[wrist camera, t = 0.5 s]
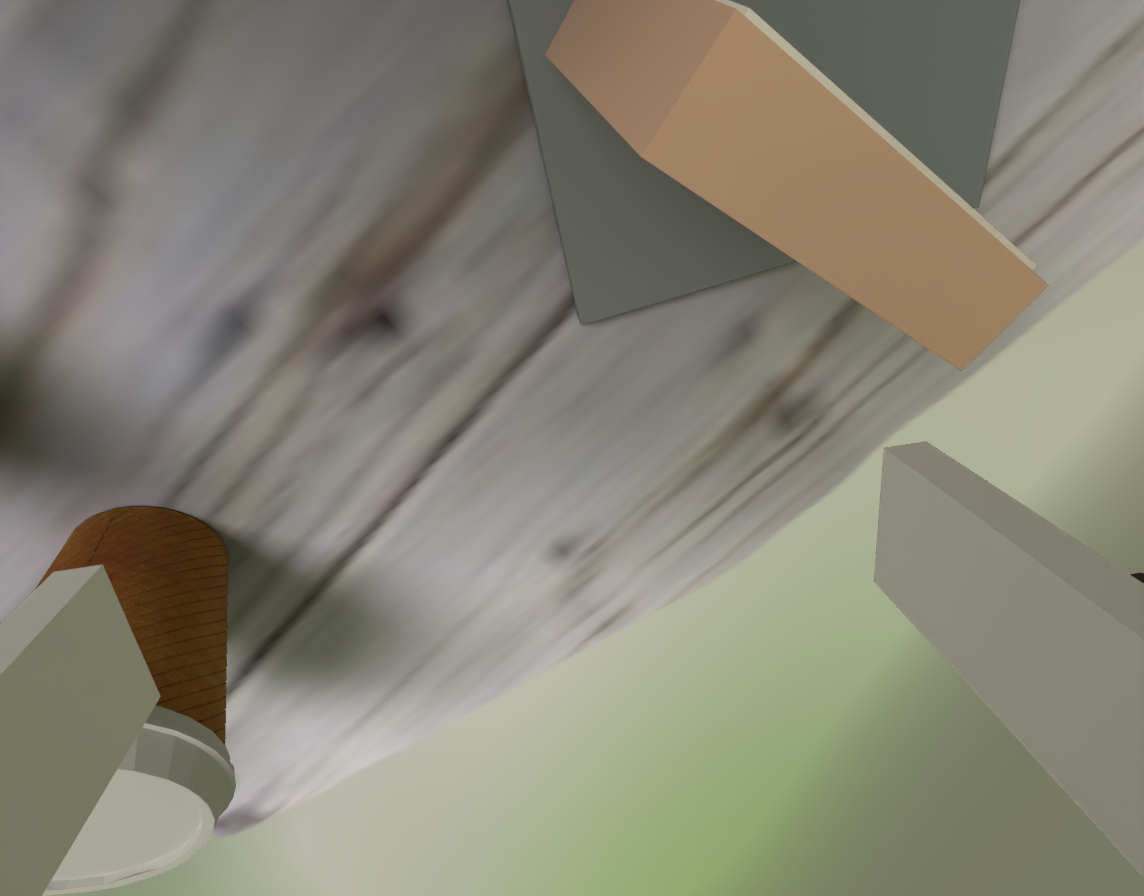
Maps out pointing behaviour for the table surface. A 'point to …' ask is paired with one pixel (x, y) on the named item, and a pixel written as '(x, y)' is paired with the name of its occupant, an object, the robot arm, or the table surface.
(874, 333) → the table surface
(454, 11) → the table surface
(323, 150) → the table surface
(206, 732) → the disposable coffee cup
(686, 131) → the tile
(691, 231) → the mat
